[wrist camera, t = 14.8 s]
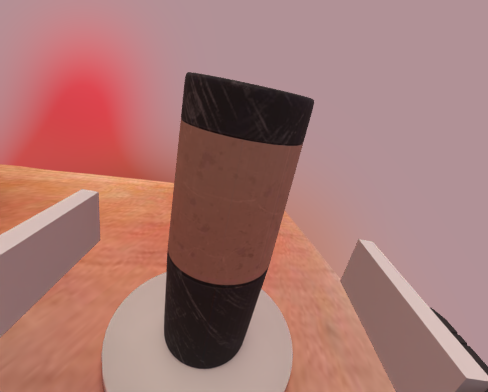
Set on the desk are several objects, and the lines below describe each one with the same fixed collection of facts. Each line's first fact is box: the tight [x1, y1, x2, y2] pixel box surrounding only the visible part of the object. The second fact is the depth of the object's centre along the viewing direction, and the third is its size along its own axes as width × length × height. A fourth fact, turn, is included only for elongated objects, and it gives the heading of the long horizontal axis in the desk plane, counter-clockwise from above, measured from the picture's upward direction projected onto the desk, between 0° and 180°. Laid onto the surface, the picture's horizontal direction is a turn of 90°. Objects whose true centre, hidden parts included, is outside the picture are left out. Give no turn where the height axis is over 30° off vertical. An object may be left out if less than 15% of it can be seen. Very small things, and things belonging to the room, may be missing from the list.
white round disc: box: [102, 272, 293, 392], centre depth 22 cm, size 16×16×2 cm
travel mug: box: [164, 72, 314, 369], centre depth 18 cm, size 8×8×20 cm
